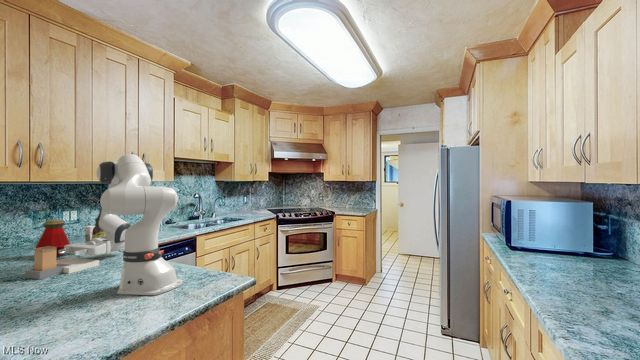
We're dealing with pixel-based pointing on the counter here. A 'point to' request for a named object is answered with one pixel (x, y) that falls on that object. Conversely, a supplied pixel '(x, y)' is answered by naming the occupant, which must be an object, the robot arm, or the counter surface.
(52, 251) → the tan upright wooden block
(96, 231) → the sauce bottle
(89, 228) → the syrup box
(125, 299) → the counter surface
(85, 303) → the counter surface
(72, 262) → the white slab
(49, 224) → the red faceted jar
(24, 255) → the counter surface
